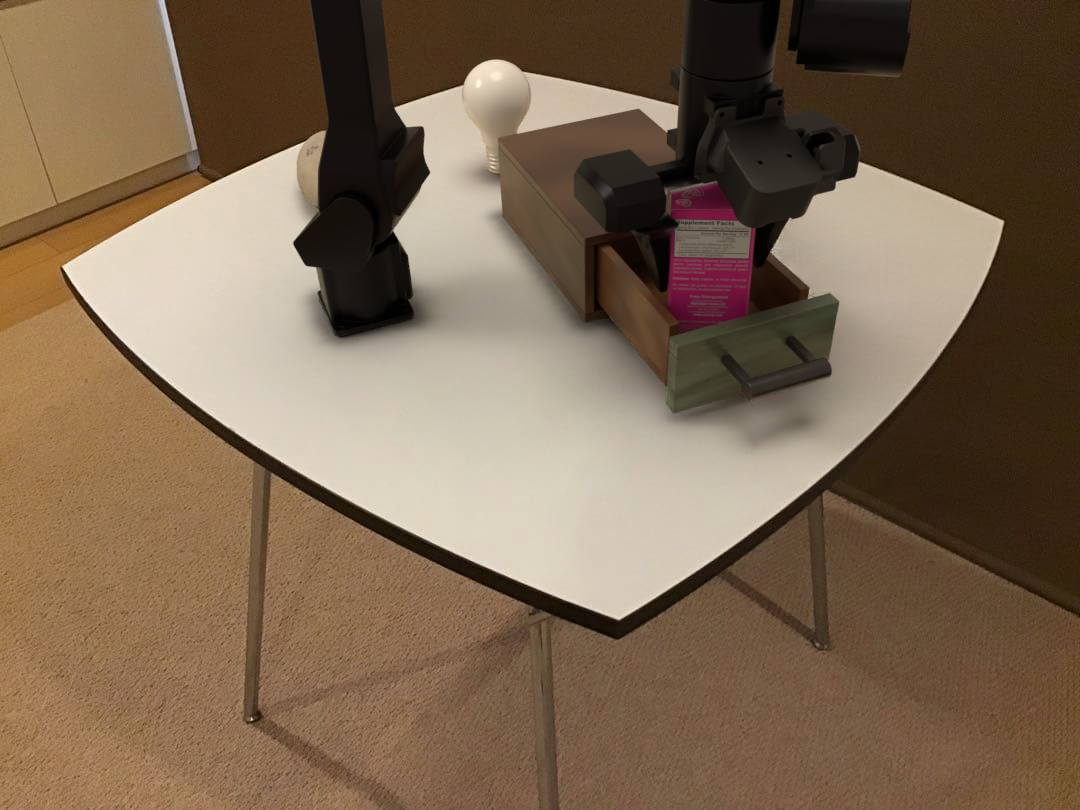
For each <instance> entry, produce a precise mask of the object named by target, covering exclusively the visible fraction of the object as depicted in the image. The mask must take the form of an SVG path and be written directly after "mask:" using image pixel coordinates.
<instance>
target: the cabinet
mask: <svg viewBox="0 0 1080 810" xmlns="http://www.w3.org/2000/svg"><path fill="white" fill-rule="evenodd" d="M628 149H631V150H632V151H633V152H634V153H635V154H636V155H637V156H638V157H639V158H640V159H641V160H642V161H643V162H644V163H646V164H647V165H648V166H652V165H656V164H661V163H666V162H670V161H675V160H676V159H675V155H676V152H675V151H674V150H673V149H672V148H671V147H669V146H668V145H667V130H665V129H664V128H663V127H662V126H660V125H659V124H658V123H657V122H655V121H654V120H653V119H652V118H651V117H650V116H648V115H647V114H646V113H645V112H644V111H642V110H641V109H640V108H634V109H630V110H625V111H621V112H616V113H611V114H605V115H601V116H596V117H591V118H586V119H582V120H581V119H580V120H577V121H572V122H567V123H562V124H558V125H557V124H556V125H552V126H548V127H543V128H537V129H533V130H529V131H524V132H519V133H518V132H517V134H514V135H509V136H504V137H499V138H498V153H499V169H500V175H499V180H500V181H499V182H500V184H499V185H500V199H501V213H502V214H501V215H502V217H503V218H504V219H505V221H506V222H507V223H508V225H509V226H510V227H511V228H512V230H513V232H515V234H516V235H517V237H519V239H520V240H521V241H522V242H523V244H524V245H525V247H526V248H527V250H529V252H530V253H531V254H532V256H533V257H534V258H535V260H536V261H537V262H538V263H539V265H540V266H541V267H542V268H543V270H544V271H545V272H546V274H547V276H549V278H550V279H551V280H552V282H553V283H554V284H555V286H556V287H557V288H558V289H559V291H560V292H561V293H562V294H563V296H564V298H566V300H567V302H569V304H570V306H571V307H573V309H574V310H575V312H576V313H577V314H578V315H579V316H580V318H581V320H583V322H584V323H589V322H593V321H598V320H601V319H604V318H608V317H609V316H608V314H607V313H606V312H605V311H604V309H603V308H602V307H601V306H600V304H599V303H598V302H597V301H596V299H595V298H594V245H596V244H600V243H604V242H608V241H612V240H617V239H621V238H625V237H629V236H633V235H634V234H632V233H631V232H630V231H628V232H624V233H620V234H614V233H609V232H605V231H604V229H603V228H602V227H601V226H600V225H599V224H598V223H597V222H596V221H595V219H594V218H593V217H592V216H591V215H590V214H589V213H588V212H587V211H586V209H585V208H584V207H583V206H582V205H581V204H580V203H579V202H578V201H577V200H576V198H575V197H574V176H573V175H574V173H575V171H576V169H577V167H578V165H579V164H580V163H581V161H582V160H583V159H586V158H591V157H595V156H600V155H605V154H609V153H614V152H619V151H623V150H628ZM671 196H672V194H669V198H668V204H667V213H668V214H669V215H670V216H671Z"/></svg>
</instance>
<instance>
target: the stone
mask: <svg viewBox="0 0 1080 810" xmlns="http://www.w3.org/2000/svg"><path fill="white" fill-rule="evenodd" d="M325 133H326V130H320V131H318V132H316V133H314V134H312V135H311V136H310V137H309V138H308V139H306V140H305V141H304V143H303V145H302V146H301V147H300V150H299V152H298V155H297V159H296V180H297V183H298V187H299V189H300V191H301V193H302V195H303V196H304V197H305V199H306V201H308V202H309V203H310V204H311V205H313V206H315V207H316V208H318V167H319V162H320V157H321V152H322V148H323V143H324V138H325Z"/></svg>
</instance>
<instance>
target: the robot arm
mask: <svg viewBox="0 0 1080 810" xmlns="http://www.w3.org/2000/svg"><path fill="white" fill-rule="evenodd" d="M382 1H383V0H308V2H309V10H310V14H311V21H312V27H313V34H314V41H315V48H316V53H317V59H318V67H319V73H320V78H321V79H320V81H321V86H322V92H323V99H324V105H325V111H326V112H325V113H326V128H325V131H326V133H325V138H324V143H323V148H322V152H321V157H320V162H319V167H318V207H317V212H316V213H315V215H314V216H313V217H312V218H311V219H310V221H309V222H308V223H307V224H306V226H305V227H304V228H303V229H302V230H301V231H300V233H299V234H298V235H297V236H296V238H295V239H294V240H293V241H292V245H293V247H294V249H295V250H296V252H297V254H298V256H299V257H300V259H301V261H302V263H303V264H304V266H305V267H309V268H316V269H315V270H316V274H317V279H318V284H319V288H320V290H318V291H317V297H318V298H317V299H318V300H319V302H320V305H321V307H322V309H323V311H324V314H325V317H326V318H327V322H328V324H329V325H330V328H331V330H332V332H333V335H334V336H336V337H343V336H347V335H351V334H355V333H359V332H362V331H367V330H370V329H374V328H375V329H376V328H378V327H383V326H387V325H391V324H395V323H399V322H402V321H408V320H410V319H413V318H414V317H415V310H414V308H413V306H412V304H411V303H410V301H409V300H412V299H413V297H414V291H413V282H412V275H411V267H410V261H409V254H408V253H407V251H406V250H405V248H404V246H403V244H402V243H401V241H400V239H399V238H398V236H397V235H396V233H395V231H394V230H395V228H396V227H397V226H398V225H399V223H400V221H401V220H402V219H403V217H404V216H405V214H406V213H407V211H408V210H409V208H410V207H411V205H412V204H413V202H414V201H415V199H417V197H418V195H419V194H420V191H421V189H422V187H423V184H424V183H425V181H426V180H427V179H428V177H429V176H430V174H431V169H430V168H429V166H428V164H427V162H426V158H425V157H426V156H425V155H424V154H425V153H424V150H425V149H424V148H425V138H426V137H425V136H426V133H425V128H424V126H422V125H416V126H406V124H405V122H404V121H403V120H402V118H401V117H400V115H399V113H398V112H397V110H396V108H395V105H394V100H393V91H392V82H391V74H390V64H389V57H388V45H387V38H386V29H385V20H384V18H385V17H384V11H383V2H382ZM792 1H793V2H792V8H791V9H792V10H791V18H790V24H789V33H788V41H787V51H786V52H787V53H794V54H796V59H795V65H803V66H804V67H803V72H813V73H827V74H843V75H860V76H874V77H887V78H900V77H901V75H902V73H903V70H904V66H905V63H906V58H907V54H908V48H909V44H910V39H911V34H912V33H911V32H912V25H911V23H912V22H911V9H912V2H913V0H792ZM782 2H783V0H684V1H683V3H684V4H683V21H682V35H681V36H682V38H681V52H680V53H681V55H680V56H681V57H680V67H677V68H672V69H669V86H670V87H672V88H673V89H674V90H676V91H677V92H678V104H677V107H678V108H677V123H676V128H670V129H667V130H666V132H667V145H668V146H669V147H671V148H672V149H673V150H674V151H675V152H676V155H675V159H676V160H675V161H670V162H666V163H661V164H656V165H652V166H648V165H647V164H646V163H644V162H643V161H642V160H641V159H640V158H639V157H638V156H637V155H636V154H635V153H634V152H633V151H632V150H631V149H628V150H623V151H619V152H614V153H609V154H605V155H600V156H595V157H591V158H586V159H583V160H582V161H581V163H580V164H579V165H578V167H577V169H576V171H575V173H574V175H573V176H574V197H575V198H576V200H577V201H578V202H579V203H580V204H581V205H582V206H583V207H584V208H585V209H586V211H587V212H588V213H589V214H590V215H591V216H592V217H593V218H594V219H595V221H596V222H597V223H598V224H599V225H600V226H601V227H602V228H603V229H604V231H605V232H609V233H614V234H620V233H624V232H628V231H630V232H631V233H632V234H634V236H635V238H636V241H637V243H638V245H639V248H640V250H641V253H642V255H643V258H644V260H645V262H646V265H647V267H648V270H649V272H650V275H651V277H652V280H653V282H654V284H655V286H656V288H657V289H658V290H659V291H660V292H661V293H663V292H666V291H667V286H668V280H669V258H670V234H671V233H672V232H673V231H674V230H675V229H676V228H677V227H678V226H679V223H678V222H677V221H676V220H674V219H673V218H672V217H671V216H670V215H669V214H668V213H667V204H668V198H669V194H672V193H677V192H681V191H685V190H689V189H694V188H698V187H702V186H707V185H711V184H715V183H718V185H719V187H720V189H721V190H722V192H723V193H724V195H725V197H726V198H727V200H728V202H729V203H730V205H731V206H732V208H733V210H734V215H735V217H736V218H737V220H738V221H739V222H740V223H741V224H743V225H744V226H746V227H749V228H756V230H755V241H754V252H753V263H752V264H753V265H754V266H755V267H756V268H759V267H762V266H763V264H764V263H765V261H766V259H767V257H768V255H769V254H770V253H772V250H773V249H774V247H775V245H776V243H777V241H778V239H779V237H780V236H781V234H782V233H783V230H784V229H785V226H787V224H788V222H789V220H790V219H791V220H795V219H799V218H802V217H803V216H805V215H806V213H807V211H808V209H809V207H810V205H811V203H812V201H813V198H814V197H815V196H817V195H822V194H825V193H829V192H833V191H835V189H836V187H837V183H838V182H841V181H846V180H850V179H853V178H854V179H855V178H856V176H857V173H858V170H859V165H860V164H859V163H860V158H861V154H862V153H861V152H862V149H861V146H860V142H859V140H858V139H859V138H857V136H856V135H855V134H854V132H852V131H850V130H849V129H847V128H846V127H844V126H843V125H841V124H839V123H838V122H837V121H836V120H834V119H833V118H831V117H829V116H828V115H826V114H825V113H823V112H822V111H820V110H819V109H818V108H814V109H809V110H805V111H798V112H795V113H790V114H786V113H785V105H786V98H785V97H784V90H785V89H784V88H783V87H782V86H780V85H779V84H778V83H776V82H775V81H773V80H774V70H775V63H776V62H775V61H776V54H777V46H778V45H777V44H778V37H779V28H780V19H781V11H782Z"/></svg>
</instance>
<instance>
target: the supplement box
mask: <svg viewBox="0 0 1080 810" xmlns="http://www.w3.org/2000/svg"><path fill="white" fill-rule="evenodd" d="M671 217H672V218H673V219H674V220H676V221H677V222H678V223H679V226H678V227H677V228H676V229H675V230H674V231H673V232H672V233H671V234H670V258H669V291H668V311H669V312H670V313H671V314H672V315H673V316H674V318H675V319H676V320H677V321H678V322H679V334H682V333H685V332H689V331H693V330H696V329H700V328H704V327H707V326H711V325H715V324H718V323H722V322H725V321H729V320H733V319H736V318H740V317H744V316H747V315H748V309H749V297H750V284H751V274H752V263H753V252H754V241H755V230H756V228H749V227H746V226H744V225H743V224H741V223H740V222H739V221H738V220H737V218H736V217H735V215H734V210H733V208H732V206H731V205H730V203H729V202H728V200H727V198H726V197H725V195H724V193H723V192H722V190H721V189H720V187H719V185H718V183H715V184H711V185H707V186H702V187H698V188H694V189H689V190H685V191H681V192H677V193H672V196H671Z"/></svg>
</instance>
